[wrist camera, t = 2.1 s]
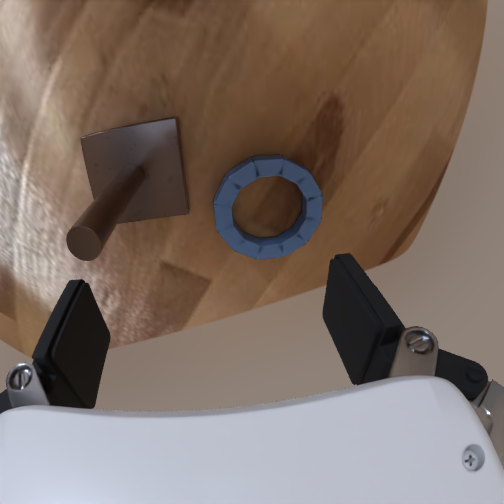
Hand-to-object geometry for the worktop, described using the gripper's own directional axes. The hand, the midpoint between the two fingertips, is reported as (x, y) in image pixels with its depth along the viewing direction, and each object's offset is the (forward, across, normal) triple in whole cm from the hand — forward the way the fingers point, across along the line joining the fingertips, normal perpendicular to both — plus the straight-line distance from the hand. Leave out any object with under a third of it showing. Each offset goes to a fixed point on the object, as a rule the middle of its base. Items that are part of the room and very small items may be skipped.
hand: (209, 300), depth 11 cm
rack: (+18, +7, -1) cm, 19 cm away
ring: (+18, -6, +4) cm, 19 cm away
